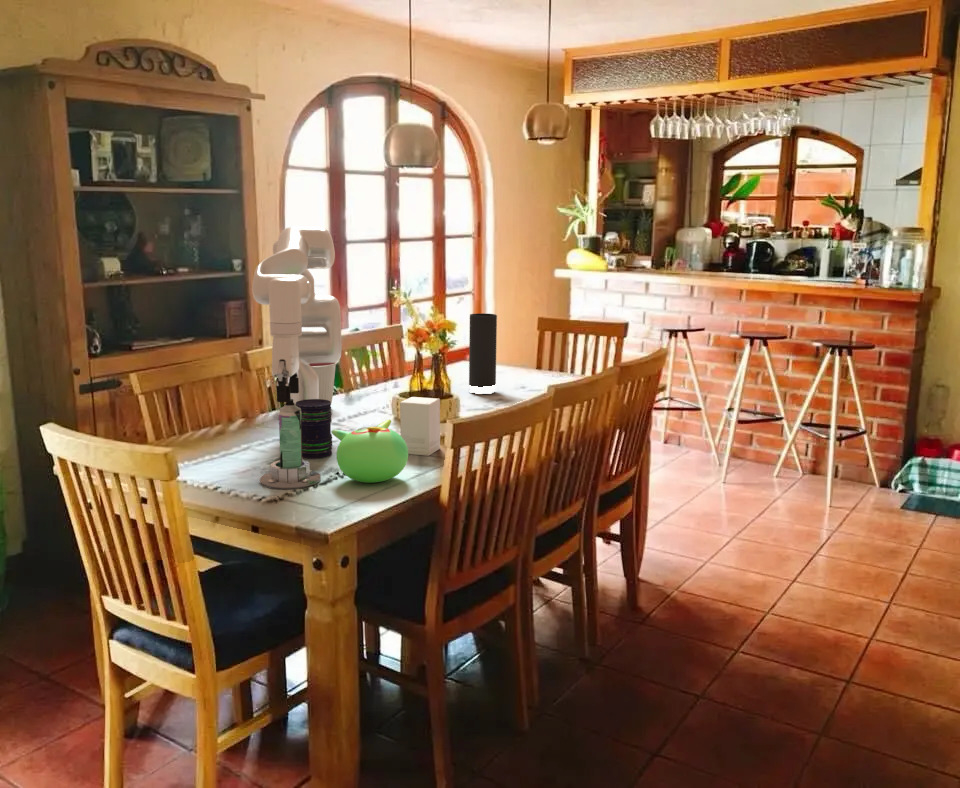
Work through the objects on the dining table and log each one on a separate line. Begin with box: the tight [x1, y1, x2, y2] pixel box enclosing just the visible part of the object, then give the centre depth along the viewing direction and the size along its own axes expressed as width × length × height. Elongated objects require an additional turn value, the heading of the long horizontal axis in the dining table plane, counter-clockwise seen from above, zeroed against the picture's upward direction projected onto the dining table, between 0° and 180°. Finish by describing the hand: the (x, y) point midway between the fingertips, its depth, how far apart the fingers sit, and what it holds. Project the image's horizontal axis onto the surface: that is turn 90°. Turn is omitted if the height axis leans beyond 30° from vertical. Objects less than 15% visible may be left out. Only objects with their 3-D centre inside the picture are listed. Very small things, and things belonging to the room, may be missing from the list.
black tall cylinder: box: [468, 313, 498, 387], centre depth 334 cm, size 10×10×30 cm
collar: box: [259, 459, 322, 490], centre depth 220 cm, size 15×15×4 cm
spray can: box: [278, 399, 303, 468], centre depth 219 cm, size 6×6×20 cm
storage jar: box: [296, 399, 333, 460], centre depth 244 cm, size 10×10×15 cm
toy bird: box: [331, 419, 409, 484], centre depth 220 cm, size 18×17×15 cm
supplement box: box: [399, 396, 441, 457], centre depth 249 cm, size 9×9×15 cm
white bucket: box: [309, 361, 338, 404], centre depth 302 cm, size 18×18×21 cm
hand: (288, 397), depth 217 cm, fingers open, 9 cm apart
